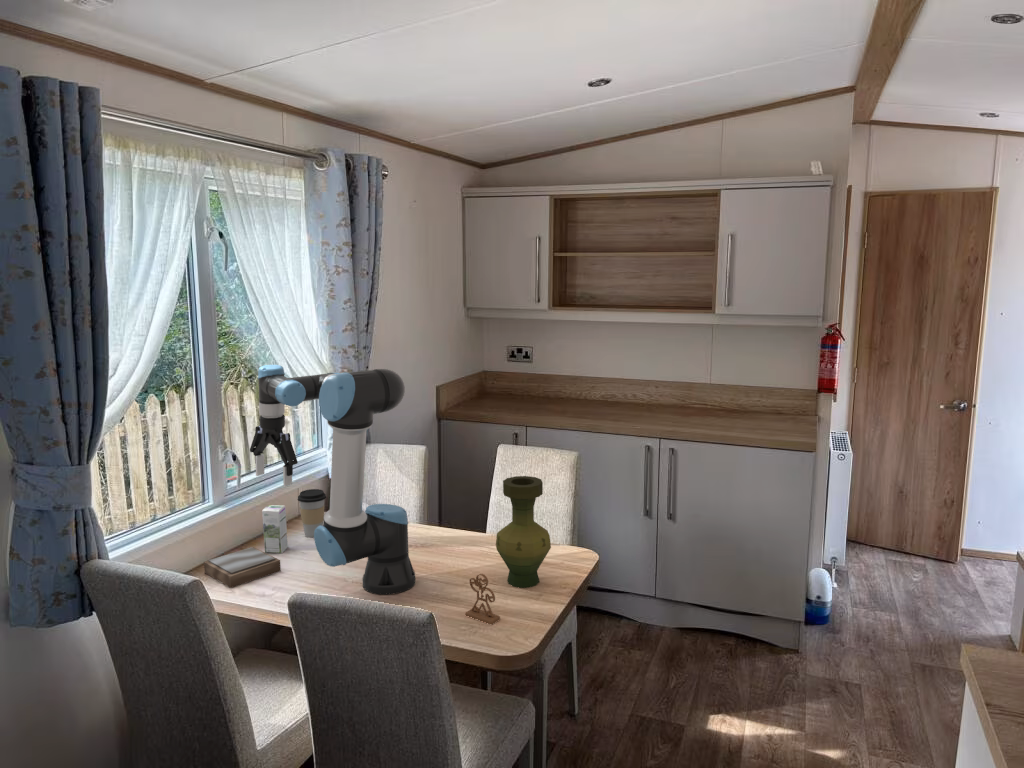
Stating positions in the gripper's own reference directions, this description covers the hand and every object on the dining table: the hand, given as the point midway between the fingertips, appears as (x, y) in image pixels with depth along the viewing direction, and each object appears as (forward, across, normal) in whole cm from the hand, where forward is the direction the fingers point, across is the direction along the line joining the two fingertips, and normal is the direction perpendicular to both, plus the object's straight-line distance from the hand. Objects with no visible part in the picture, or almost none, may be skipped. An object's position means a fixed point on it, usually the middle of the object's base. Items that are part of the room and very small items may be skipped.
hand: (273, 479), depth 239 cm
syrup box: (+25, +1, -1) cm, 25 cm away
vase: (+19, -79, -26) cm, 85 cm away
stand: (+24, -5, +16) cm, 29 cm away
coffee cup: (+25, +2, -17) cm, 30 cm away
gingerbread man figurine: (+18, -83, -1) cm, 85 cm away
